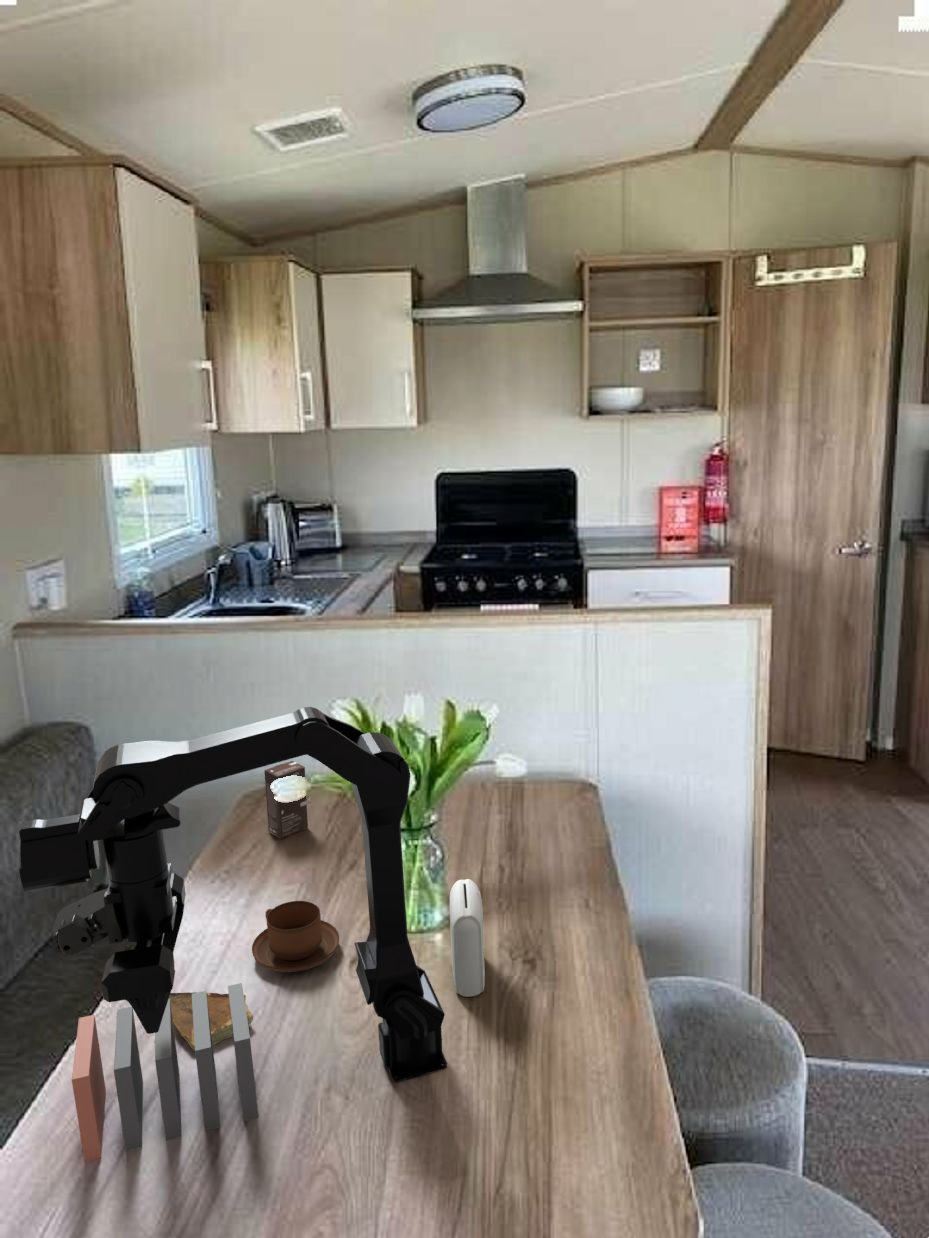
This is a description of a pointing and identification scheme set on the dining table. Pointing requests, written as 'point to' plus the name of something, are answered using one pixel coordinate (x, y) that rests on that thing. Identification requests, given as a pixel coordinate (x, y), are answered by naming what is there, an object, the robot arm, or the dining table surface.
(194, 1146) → the dining table surface
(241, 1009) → the domino
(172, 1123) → the domino
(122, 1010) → the domino
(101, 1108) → the domino
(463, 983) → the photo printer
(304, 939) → the cup and saucer
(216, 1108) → the domino
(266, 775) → the box
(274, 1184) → the dining table surface
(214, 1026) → the shard
